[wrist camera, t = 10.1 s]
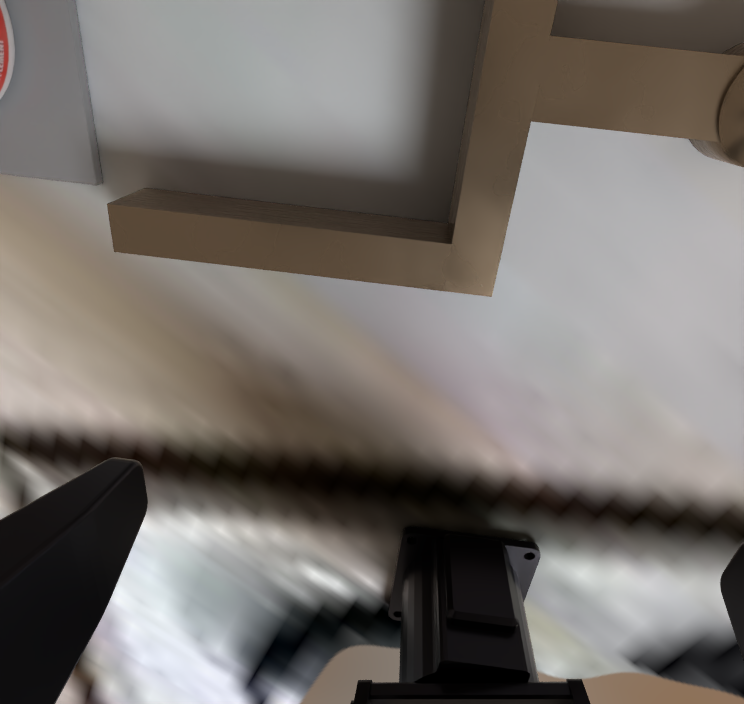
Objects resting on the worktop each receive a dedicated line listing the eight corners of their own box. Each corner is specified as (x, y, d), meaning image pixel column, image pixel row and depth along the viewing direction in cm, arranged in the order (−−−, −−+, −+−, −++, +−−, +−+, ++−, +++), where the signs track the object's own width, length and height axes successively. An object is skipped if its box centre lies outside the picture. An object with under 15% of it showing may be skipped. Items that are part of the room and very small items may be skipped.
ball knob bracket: (713, 297, 18) (754, 328, 16) (150, 230, 18) (114, 251, 16) (922, -169, 12) (1032, -222, 10) (95, -248, 13) (28, -314, 11)
